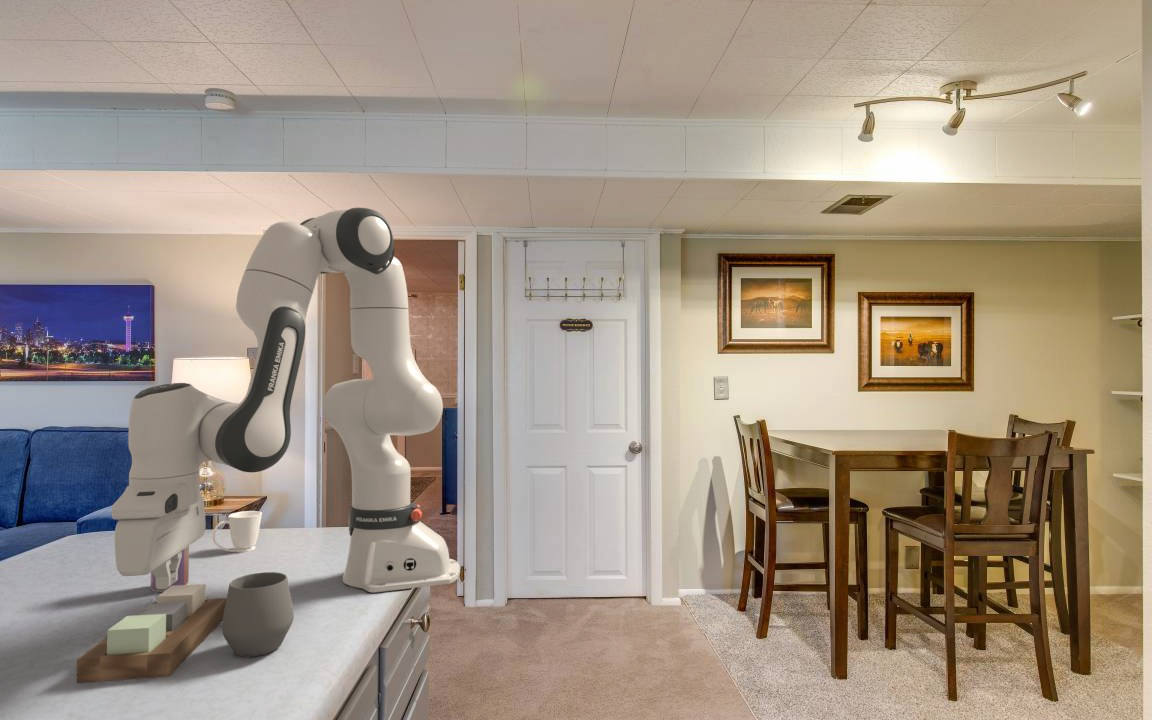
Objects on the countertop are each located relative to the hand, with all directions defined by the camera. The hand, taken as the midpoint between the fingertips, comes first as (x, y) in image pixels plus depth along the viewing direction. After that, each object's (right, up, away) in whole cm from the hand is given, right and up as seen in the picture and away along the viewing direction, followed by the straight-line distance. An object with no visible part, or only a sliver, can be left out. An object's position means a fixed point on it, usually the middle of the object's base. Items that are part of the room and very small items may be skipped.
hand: (167, 585), depth 95 cm
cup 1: (-15, -10, +48) cm, 51 cm away
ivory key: (-2, -7, +6) cm, 10 cm away
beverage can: (-15, -9, +24) cm, 30 cm away
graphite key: (0, -8, -1) cm, 8 cm away
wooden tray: (0, -9, -1) cm, 9 cm away
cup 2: (+14, -9, -2) cm, 17 cm away
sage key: (+1, -7, -8) cm, 10 cm away
